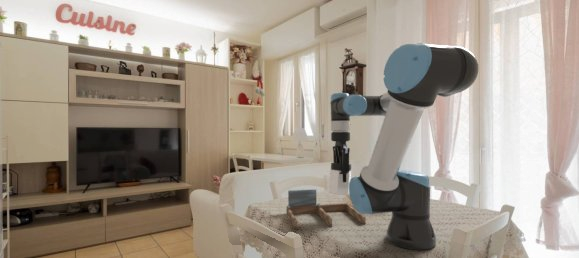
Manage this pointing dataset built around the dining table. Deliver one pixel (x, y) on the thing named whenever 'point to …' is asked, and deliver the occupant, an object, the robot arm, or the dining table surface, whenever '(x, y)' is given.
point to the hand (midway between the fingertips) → (341, 188)
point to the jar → (339, 180)
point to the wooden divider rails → (315, 207)
